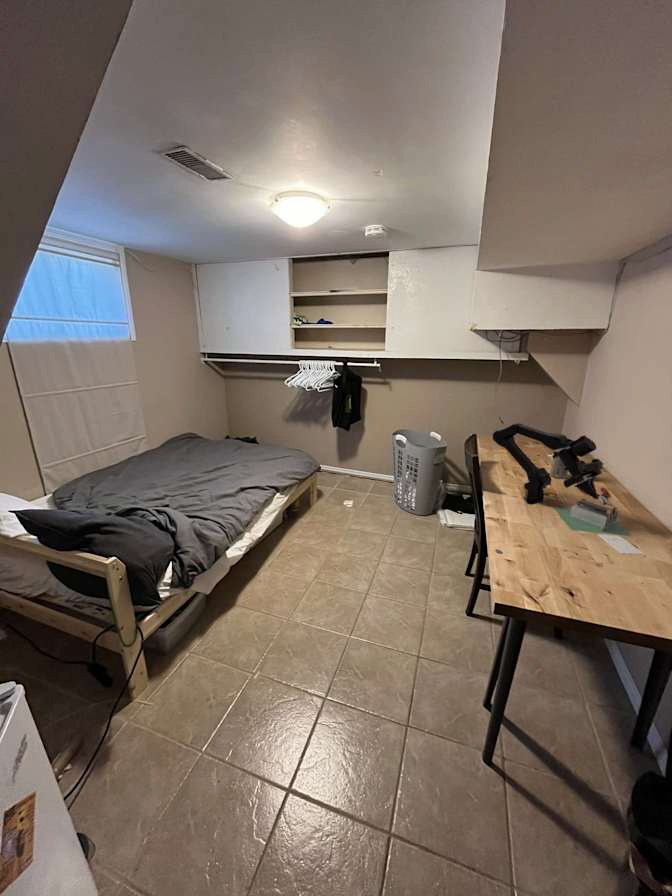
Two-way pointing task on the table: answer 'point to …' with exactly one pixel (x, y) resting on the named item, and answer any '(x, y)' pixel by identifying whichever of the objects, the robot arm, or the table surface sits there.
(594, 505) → the dark metal plate
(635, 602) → the table surface
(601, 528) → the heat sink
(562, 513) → the green square mat
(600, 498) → the pliers
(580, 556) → the table surface
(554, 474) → the spray can
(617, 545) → the external hard drive
